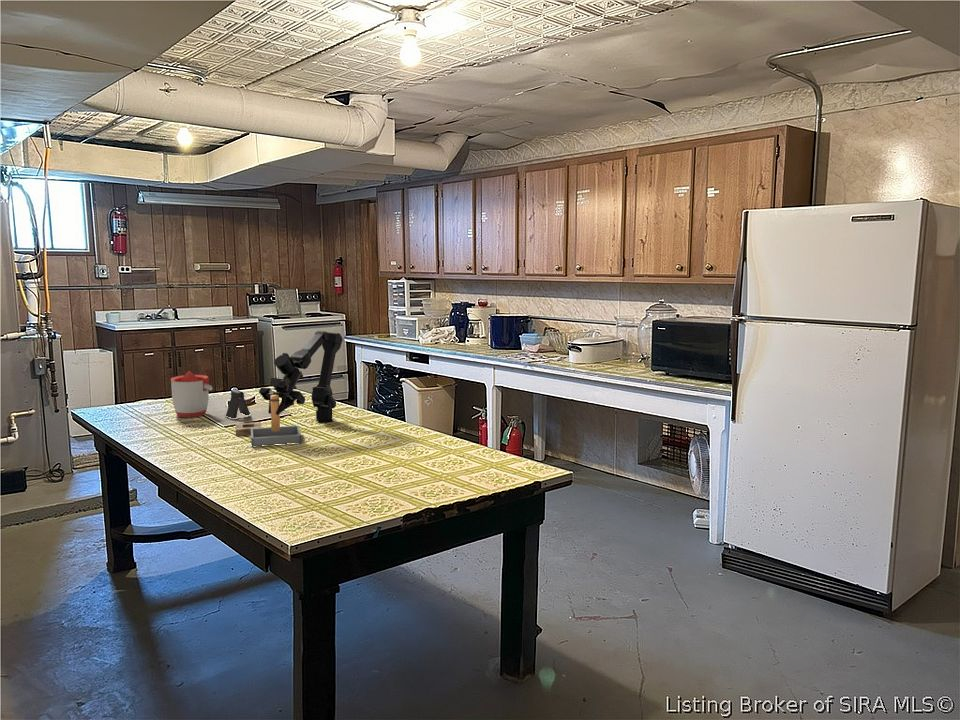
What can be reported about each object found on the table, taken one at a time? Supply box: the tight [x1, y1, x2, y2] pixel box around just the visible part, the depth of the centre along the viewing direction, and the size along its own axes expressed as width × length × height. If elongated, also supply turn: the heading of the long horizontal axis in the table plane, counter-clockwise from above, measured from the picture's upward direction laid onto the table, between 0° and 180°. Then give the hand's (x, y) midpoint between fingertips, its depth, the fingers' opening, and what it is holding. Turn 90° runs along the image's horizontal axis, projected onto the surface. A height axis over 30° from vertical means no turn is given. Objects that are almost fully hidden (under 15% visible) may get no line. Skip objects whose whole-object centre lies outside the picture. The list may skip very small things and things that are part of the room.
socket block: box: [235, 421, 263, 437], centre depth 284 cm, size 10×10×2 cm
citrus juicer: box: [170, 371, 214, 418], centre depth 308 cm, size 16×17×20 cm
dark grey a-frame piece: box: [225, 389, 251, 418], centre depth 306 cm, size 9×6×12 cm, turn 138°
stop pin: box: [270, 395, 281, 432], centre depth 271 cm, size 3×3×14 cm
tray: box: [250, 425, 303, 448], centre depth 272 cm, size 19×15×4 cm
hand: (273, 413), depth 270 cm, fingers closed on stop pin, 3 cm apart
